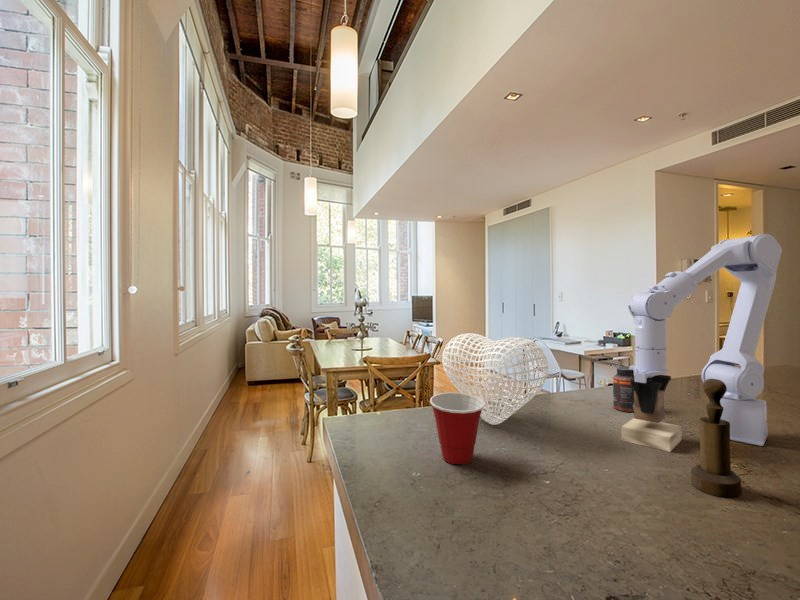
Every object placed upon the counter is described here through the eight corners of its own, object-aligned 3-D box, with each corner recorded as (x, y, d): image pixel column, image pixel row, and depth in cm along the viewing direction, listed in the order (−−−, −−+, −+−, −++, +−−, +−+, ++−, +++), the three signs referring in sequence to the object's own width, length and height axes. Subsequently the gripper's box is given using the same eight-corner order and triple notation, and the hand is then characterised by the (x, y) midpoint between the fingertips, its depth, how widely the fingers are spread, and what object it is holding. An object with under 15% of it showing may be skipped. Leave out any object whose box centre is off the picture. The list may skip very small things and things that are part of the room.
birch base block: (681, 439, 85) (681, 426, 85) (670, 452, 79) (669, 437, 79) (635, 429, 92) (635, 417, 92) (621, 440, 86) (621, 426, 86)
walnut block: (664, 418, 86) (663, 390, 86) (658, 423, 83) (657, 394, 83) (641, 413, 89) (640, 387, 89) (634, 418, 86) (633, 391, 86)
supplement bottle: (643, 412, 105) (642, 370, 104) (620, 413, 105) (620, 370, 105) (630, 406, 111) (630, 366, 110) (609, 406, 111) (608, 366, 110)
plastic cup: (451, 476, 71) (449, 410, 71) (420, 455, 80) (419, 396, 80) (498, 463, 76) (496, 401, 76) (464, 444, 85) (463, 389, 85)
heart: (562, 431, 92) (560, 336, 92) (523, 449, 82) (521, 343, 82) (470, 406, 114) (469, 329, 113) (431, 417, 104) (429, 334, 104)
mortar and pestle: (692, 474, 70) (691, 373, 69) (740, 485, 65) (740, 377, 65) (689, 490, 64) (688, 380, 64) (742, 502, 60) (741, 385, 60)
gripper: (640, 343, 93) (641, 400, 93) (618, 349, 83) (618, 413, 84) (676, 345, 88) (676, 406, 88) (656, 353, 78) (657, 421, 78)
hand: (651, 410), depth 86 cm, fingers closed on walnut block, 4 cm apart
